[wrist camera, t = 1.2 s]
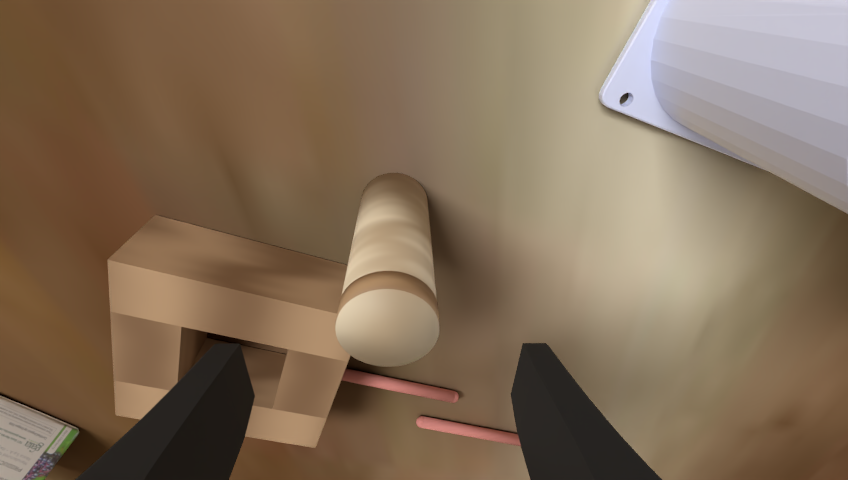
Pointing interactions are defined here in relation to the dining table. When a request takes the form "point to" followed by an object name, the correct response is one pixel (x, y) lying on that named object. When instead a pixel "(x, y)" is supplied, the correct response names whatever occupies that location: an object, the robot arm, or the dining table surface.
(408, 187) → the tan round log
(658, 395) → the dining table surface
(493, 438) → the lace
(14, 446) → the syrup box
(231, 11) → the dining table surface
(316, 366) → the wooden square frame
